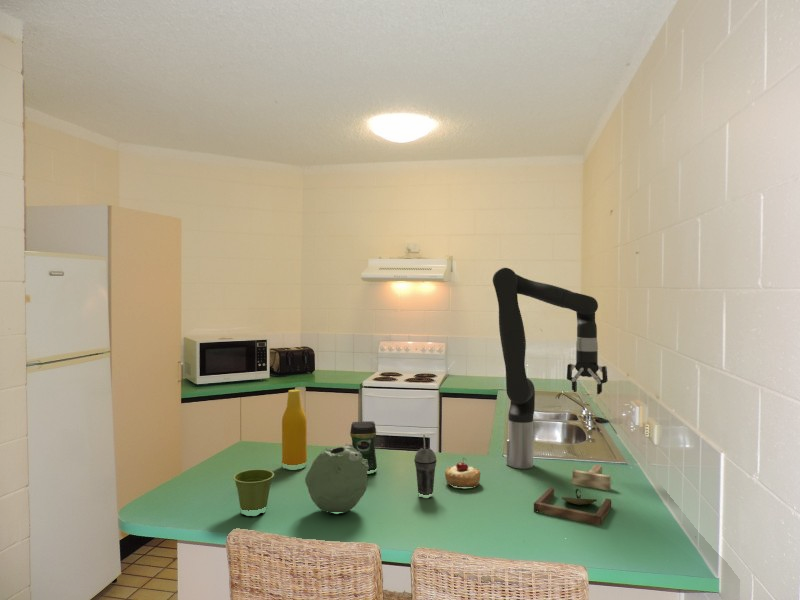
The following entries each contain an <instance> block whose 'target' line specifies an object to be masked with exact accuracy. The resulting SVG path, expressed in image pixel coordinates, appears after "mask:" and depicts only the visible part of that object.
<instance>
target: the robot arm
mask: <svg viewBox="0 0 800 600" xmlns="http://www.w3.org/2000/svg"><path fill="white" fill-rule="evenodd" d="M492 284H493V288H494V291H495V294H496V295H495V296H496V299H497V303H498V305H497V306H498V329H499V331H498V332H499V336H500V344H501V350H502V356H503V361H504V366H505V367H504V368H505V386H506V387H505V389H506V391H505V392H506V396H507V398H508V399H509V401H510V406H509V410H508V415H507V417H508V423H507V424H508V427H507V430H508V432H507V433H508V438H507V440H506V465H507V466H510V467H511V468H514V469H522V470H526V469H531V468H533V467H534V416H535V415H534V414H535V402H536V390H535V384H534V382H533V381H532V380H531V379H529V378H528V377H527V374H526V373H527V372H526V365H525V364H526V363H525V361H526V349H527V344H526V343H527V342H526V341H527V340H526V333H525V325H524V322H523V317H522V314H521V310H520V306H519V300H518V295H522V296H526V297H530V298H533V299H536V300H538V301H541V302H543V303H546V304H550V305H553V306H554V307H555V306H556V307H559V308H562V309H568V310H570V311H574V312H575V315H576V323H577V324H576V325H577V326H576V343H575V345H576V346H575V347H576V348H575V349H576V351H575V352H576V353H575V355H576V356H575V358H576V359H575V360H576V361H575V364H572V363H569V364H567V366H566V367H567V368H566V380H568V381H570V382H571V390H572V391H573V392H574V393H577V391H578V381H577V380H579V378H580V377H583V378H584V377H587V378H593V380H594V381H596V383H597V384H596V394H597V395H600V394H602V392H603V384H606V383H607V382H608V381H609V380H608V367H607V366H606V365H603V366H601V365H600V366H599V364H598V361H599V359H598V358H599V356H598V355H599V354H598V350H599V348H598V346H599V345H598V331H597V330H598V329H597V327H598V326H597V323H596V312H597V310H598V308H599V304H598V301H597V300H596V298H595V297H593V296H590V295H587V294H582V293H579V292H574V291H572V290H569V289H566V288H564V287H560V286H556V285H553V284H548V283H544V282H539V281H535V280H531V279H528V278H525V277H523V276H521V275H520V274H519V275H518V274H517V273H516V272H515V271H514V270H513V269H511V268H509V267H501V268H499V269H498V270H496V271H495V272H494V274H493V276H492ZM573 370H576V371H577V373H576V374H575V375H574V376H573ZM598 371H600V372H601V375H602V376H601V377H602V379H601V377H600V375H599V374H598Z"/></svg>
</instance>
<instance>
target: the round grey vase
mask: <svg viewBox="0 0 800 600" xmlns="http://www.w3.org/2000/svg"><path fill="white" fill-rule="evenodd" d="M368 469H369V466H368V460H367V459H364V458H362V454H361V453H360V451H357V450H356V449H354V448H353V445H352V443H346V444H345V445H343V446H342V445H341V446H337V447H331V448H328V447H325V449H324V450H323V451H321V452H320V453H319V454H318V455H317V456H316V458H315V459H314V460H313V461H312V464H311V465H310V468H309V470H308V472H307V473H306V476H305V478H304V480H305V481H304V483H305V485H306V487H307V490H308V494H309V496H310V499H311V501H312V503H314V505H315V506H317V508H318V509H320V510H321V511H323V512H325V511H328V512H345V513H347V512H349V511H351V510H352V509H353V508H355V507H356V506H357V504H358V503H359V501H360V500H361V498H363V496H364V494H365V493H366V491H367V487H368V475H367V471H368ZM350 509H351V510H350ZM348 510H349V511H348ZM346 511H347V512H346ZM328 512H327V513H328Z"/></svg>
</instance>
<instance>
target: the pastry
mask: <svg viewBox="0 0 800 600" xmlns="http://www.w3.org/2000/svg"><path fill="white" fill-rule="evenodd" d="M462 460H465V461H467V459H466V458H464V457H462ZM444 476H445V480H446V483H447V484H448V483H449V484H451V485H453V486H457V487H474V486H476V485H477V486H478V484H479V483H480V481H481V471H480V470H479V469H478V468H476V467H475V466H468V464H467V463H465V462H464V461H462V462H458V463H457V464H456V465H451V466H449V467H447V468H446V469H445V471H444ZM449 484H448V485H449ZM477 486H476V487H477ZM474 488H475V487H474Z"/></svg>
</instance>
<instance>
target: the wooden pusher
mask: <svg viewBox="0 0 800 600" xmlns="http://www.w3.org/2000/svg"><path fill="white" fill-rule="evenodd" d="M611 480H612V479H611V475H608V474H603V465H602V464H598V463H596V464H594V465H593V466H592V467H591V468H590V470H589V471H585V470H580V469H573V470H572V485H577V486H580V487H581V486H582V487H587V488H593V489H597V488H598V489H599V490H604V491H608V490H609V491H610V490H611V489H612V488H611V484H612V483H611V482H612V481H611ZM598 489H597V490H598Z"/></svg>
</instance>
